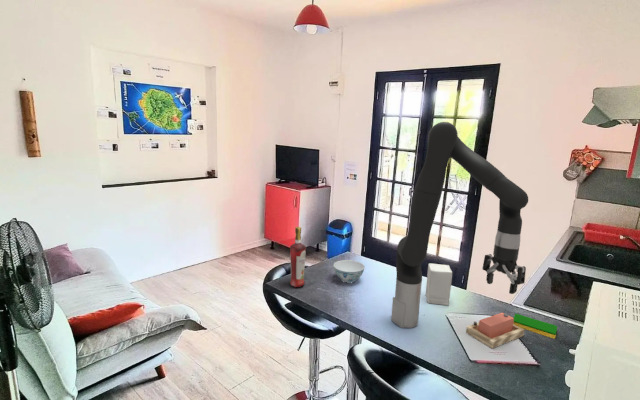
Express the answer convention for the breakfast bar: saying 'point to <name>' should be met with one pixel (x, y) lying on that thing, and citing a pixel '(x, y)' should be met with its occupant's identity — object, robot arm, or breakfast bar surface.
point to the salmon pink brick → (496, 325)
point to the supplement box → (438, 284)
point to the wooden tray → (495, 341)
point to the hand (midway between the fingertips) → (500, 288)
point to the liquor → (297, 260)
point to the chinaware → (348, 270)
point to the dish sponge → (535, 325)
